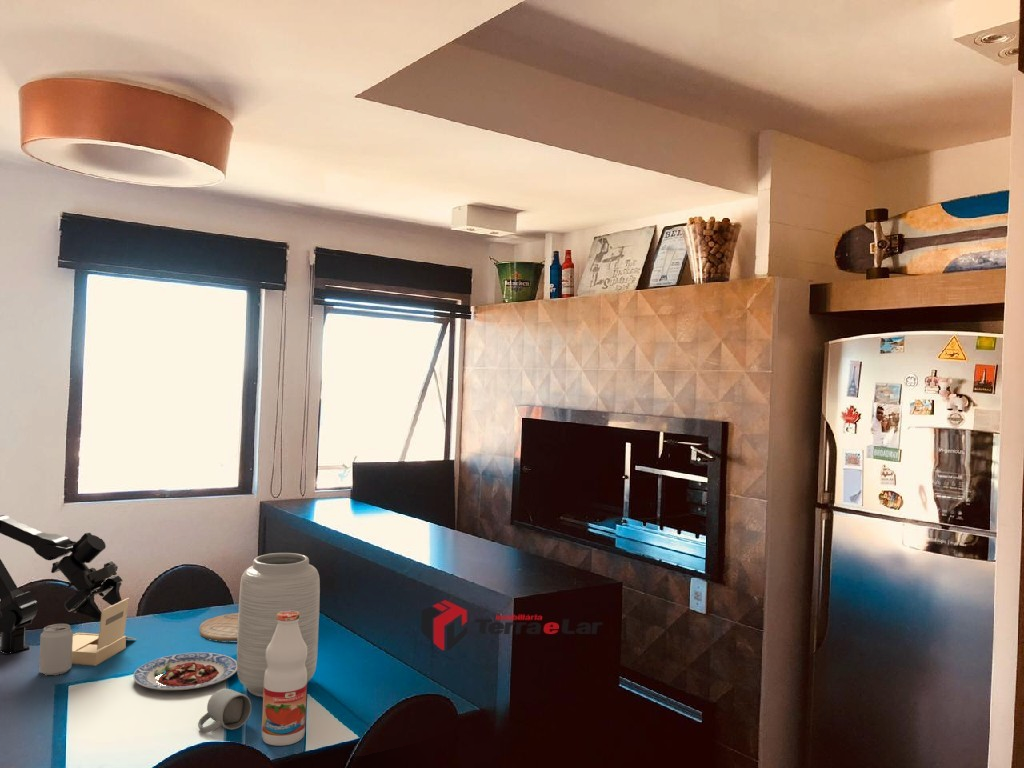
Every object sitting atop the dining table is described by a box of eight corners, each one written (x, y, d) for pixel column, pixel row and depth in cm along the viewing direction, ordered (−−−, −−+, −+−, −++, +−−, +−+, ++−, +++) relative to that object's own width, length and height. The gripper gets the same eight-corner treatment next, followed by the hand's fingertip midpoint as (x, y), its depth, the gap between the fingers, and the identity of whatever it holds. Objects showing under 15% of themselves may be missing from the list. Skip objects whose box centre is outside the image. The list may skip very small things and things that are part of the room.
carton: (43, 661, 212) (44, 649, 212) (91, 636, 233) (91, 625, 233) (95, 665, 211) (96, 652, 211) (138, 640, 231) (139, 628, 231)
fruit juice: (301, 725, 180) (306, 605, 180) (308, 743, 172) (313, 617, 171) (259, 731, 176) (264, 608, 176) (263, 749, 168) (268, 621, 168)
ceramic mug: (232, 712, 185) (233, 681, 185) (251, 723, 180) (252, 690, 180) (190, 727, 177) (191, 694, 177) (209, 739, 172) (209, 705, 172)
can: (56, 678, 201) (58, 632, 201) (31, 675, 203) (33, 629, 203) (78, 668, 209) (79, 623, 209) (54, 664, 210) (55, 621, 210)
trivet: (224, 615, 259) (224, 609, 259) (295, 621, 256) (295, 615, 256) (182, 639, 235) (183, 633, 235) (260, 646, 231) (260, 640, 231)
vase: (288, 708, 189) (293, 571, 189) (218, 695, 195) (223, 562, 195) (330, 678, 208) (335, 554, 208) (266, 667, 214) (270, 547, 214)
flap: (96, 649, 212) (102, 610, 211) (123, 635, 224) (128, 597, 224) (98, 650, 211) (103, 610, 211) (124, 635, 224) (129, 598, 224)
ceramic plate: (258, 671, 212) (258, 660, 212) (183, 705, 189) (183, 693, 189) (189, 653, 223) (190, 643, 223) (110, 684, 199) (110, 672, 199)
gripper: (76, 562, 209) (114, 605, 208) (117, 547, 227) (152, 587, 226) (48, 589, 209) (85, 633, 208) (91, 572, 228) (125, 612, 227)
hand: (113, 615), depth 218 cm, fingers open, 9 cm apart
